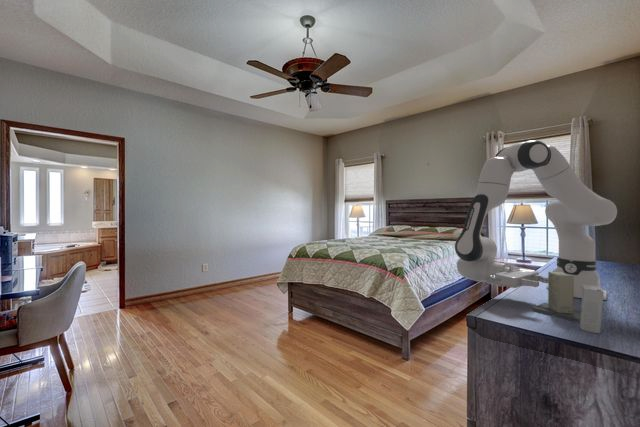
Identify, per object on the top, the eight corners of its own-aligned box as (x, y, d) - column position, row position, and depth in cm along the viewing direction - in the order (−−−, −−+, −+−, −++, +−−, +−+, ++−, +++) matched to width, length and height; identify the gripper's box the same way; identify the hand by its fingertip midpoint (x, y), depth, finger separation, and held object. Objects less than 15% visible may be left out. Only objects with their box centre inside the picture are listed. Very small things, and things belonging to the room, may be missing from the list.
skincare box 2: (579, 323, 88) (581, 283, 88) (600, 328, 85) (602, 286, 85) (580, 330, 83) (582, 287, 83) (602, 334, 81) (604, 290, 80)
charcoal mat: (544, 305, 105) (544, 302, 105) (588, 316, 95) (588, 313, 95) (532, 310, 99) (532, 307, 99) (578, 322, 89) (578, 319, 89)
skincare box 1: (573, 314, 93) (575, 276, 93) (558, 313, 94) (559, 275, 94) (561, 307, 99) (562, 271, 99) (546, 306, 100) (547, 271, 100)
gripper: (487, 268, 106) (531, 277, 94) (512, 263, 117) (555, 270, 106) (486, 286, 106) (530, 296, 95) (512, 279, 118) (554, 287, 106)
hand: (543, 282), depth 100 cm, fingers open, 8 cm apart
